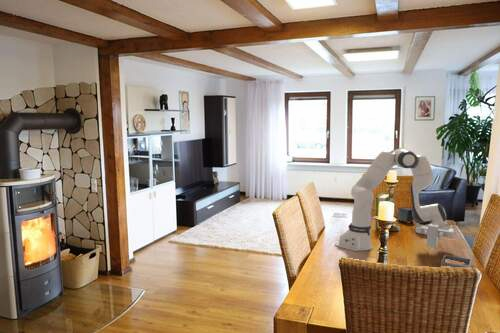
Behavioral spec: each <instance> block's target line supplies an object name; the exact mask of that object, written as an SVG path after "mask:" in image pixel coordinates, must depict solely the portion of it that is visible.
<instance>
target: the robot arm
mask: <svg viewBox="0 0 500 333" xmlns="http://www.w3.org/2000/svg"><path fill="white" fill-rule="evenodd" d="M395 166H397V167H399V168H403V169H410V170H411V174H412V177H413V180H412V182H411V183H410V185H409V186H410V188H409V189H410V199H411V206H412V208H411V209H413V221H417V222H419V223H422V222H426V221H432V220H433V221H432V222H431V223H430V224H433V225H439V232H438V236H437V237H438V238H440V237H441V238H442V237H443V238H448V239H454V237H455V229H454V227H453V225H450V224H448V222H447V218H448V217H447V216H448V215H447V212H446V208H445V207H444V206H443V205H442V204H440V203H433V204H425V205H426V206H420V205H421V204H420V198H419V193H420V192H421V191H423V190H425V188H426V189H427V187H429V186H430V185H432V183H433V181H434V173H433V170H432V167H431V164H430V162H429V160H428V159H427V157H426V156H425V155H424V154H423V155H422V154H415V153H414V152H413V151H412V150H409V149H406V148H403V147H402V148H401V147H399V148H395V149H394V150H391V151H388V150H382V151H381V152H380V153H379V154H378V155H377V156H376V157H375V158H374V160H373V161H372V162H371V164H370V165H369V167H368V168H367V170H366V172H364V174H363V175H362V176H361V177H360V178H359V180H358V181H356V183H355V184H354V185H353V186H352V187H351V191H350V194H351V197H352V198H353V200H354V203H353V206H352V207H353V209H352V212H351V213H352V214H351V215H352V216H351V217H352V219H351V222H350V224H348V226H347V227H348V229H347V230H346V231H344V232H342V233H341V234H340V235H339V239H338V240H337V241H336V242H335V247H339V248H341V249H346V250H350V251H354V252H359V251H370V250H372V249H373V244H372V239H371V238H372V236H371V235H372V225H371V223H372V222H371V220H372V210H373V203H374V198H375V195H374V192H373V191H374V190H375V189H376V188H378V186H380V185H381V184H382V182H383V181H384V179H385V178H386V176H387V175H388V174H389V172H390V171H391V169H392V168H393V167H395ZM415 227H416V230H415V233H417V234H424V235H425V236H427V233H428V224H427V225H420V224H418V225H416V226H415Z"/></svg>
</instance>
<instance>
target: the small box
mask: <svg viewBox="0 0 500 333" xmlns="http://www.w3.org/2000/svg"><path fill="white" fill-rule="evenodd" d="M397 210H398V211H397V221H398V220H400V221H399V222H401V221H405V222H413V223H414V218H413V209H412V208H409V207H405V206H404V207H403V206H402V207H397Z"/></svg>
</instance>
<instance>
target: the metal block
mask: <svg viewBox="0 0 500 333" xmlns="http://www.w3.org/2000/svg"><path fill="white" fill-rule="evenodd" d="M427 226H428V233H427V235H426V236H427V237H426V248H427V247H428V248H433V249H437V248H438V244H439V243H438V242H439V237H437V236H438V232H439V225H433V224H427Z"/></svg>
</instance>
